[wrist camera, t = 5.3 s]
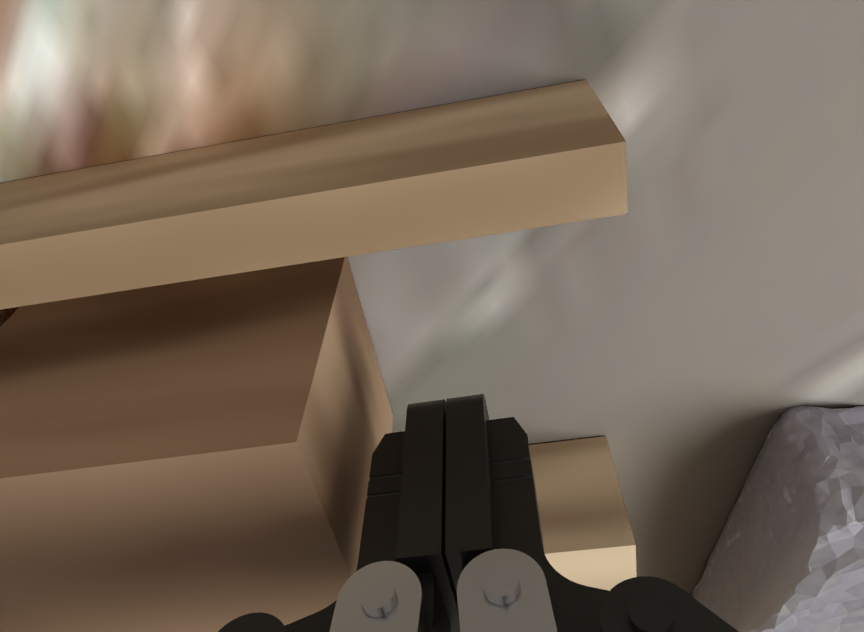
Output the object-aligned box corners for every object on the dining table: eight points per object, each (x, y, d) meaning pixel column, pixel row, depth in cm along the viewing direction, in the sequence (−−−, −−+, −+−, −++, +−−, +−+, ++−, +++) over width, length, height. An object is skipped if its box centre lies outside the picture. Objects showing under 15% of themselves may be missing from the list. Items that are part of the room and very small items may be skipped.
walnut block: (22, 303, 16) (-167, 499, 11) (345, 253, 15) (296, 441, 10) (113, 452, 19) (-6, 662, 14) (393, 416, 18) (372, 629, 13)
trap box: (-415, 256, 16) (-610, 345, 13) (585, 79, 13) (626, 141, 10) (1, 676, 26) (-56, 780, 23) (616, 625, 23) (640, 735, 20)
